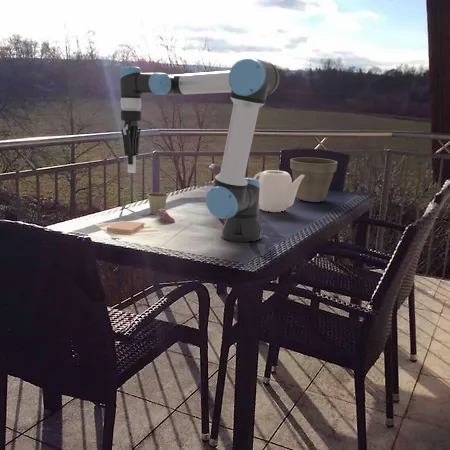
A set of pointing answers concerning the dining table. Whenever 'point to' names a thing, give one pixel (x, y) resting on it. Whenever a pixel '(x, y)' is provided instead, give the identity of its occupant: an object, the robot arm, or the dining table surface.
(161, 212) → the video game controller
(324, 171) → the plant pot
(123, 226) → the tile
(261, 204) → the watering can
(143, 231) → the board
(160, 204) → the flower pot
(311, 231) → the dining table surface
